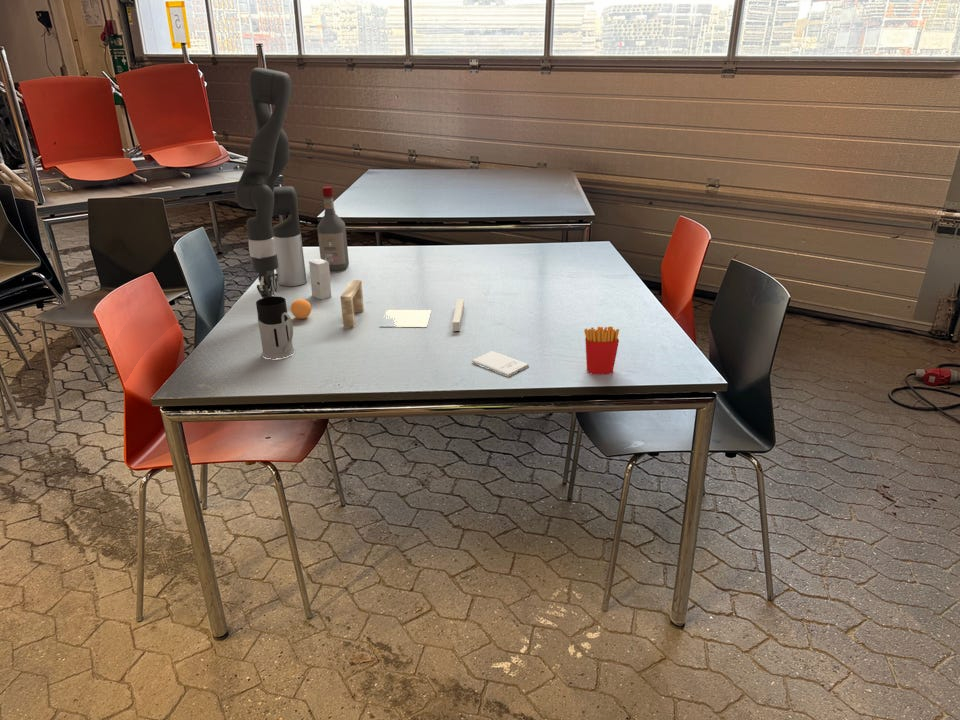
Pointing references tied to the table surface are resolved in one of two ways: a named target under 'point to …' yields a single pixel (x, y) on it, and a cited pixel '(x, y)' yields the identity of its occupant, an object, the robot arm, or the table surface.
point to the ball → (301, 308)
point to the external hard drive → (500, 363)
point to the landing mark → (409, 317)
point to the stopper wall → (458, 315)
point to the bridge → (351, 302)
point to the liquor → (332, 235)
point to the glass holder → (275, 327)
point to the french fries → (601, 349)
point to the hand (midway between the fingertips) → (271, 308)
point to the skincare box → (320, 278)
